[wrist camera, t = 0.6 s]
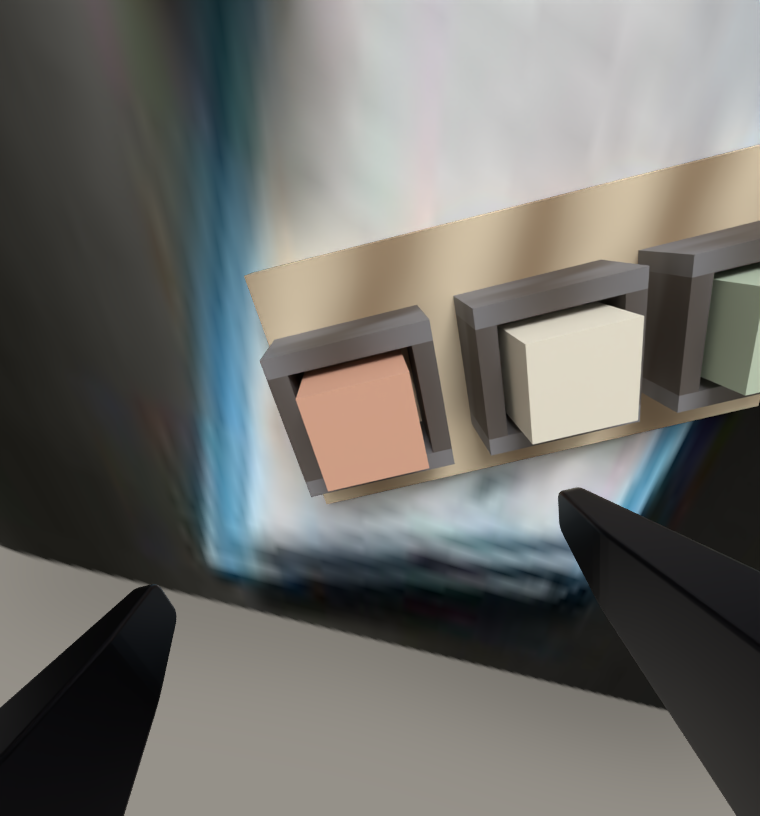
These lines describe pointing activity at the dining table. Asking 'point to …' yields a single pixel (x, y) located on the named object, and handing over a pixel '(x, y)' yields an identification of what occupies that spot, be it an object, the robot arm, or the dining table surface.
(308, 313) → the button panel
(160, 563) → the dining table surface
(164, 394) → the dining table surface
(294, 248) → the dining table surface
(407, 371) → the button terracotta
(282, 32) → the dining table surface
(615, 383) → the button cream
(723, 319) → the button sage
